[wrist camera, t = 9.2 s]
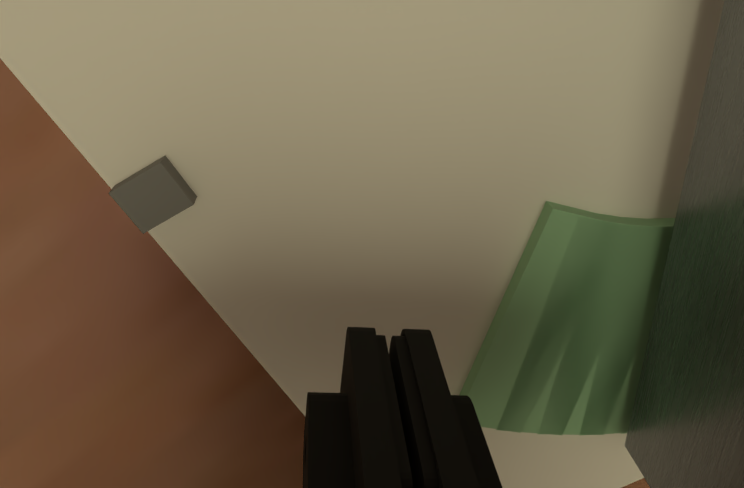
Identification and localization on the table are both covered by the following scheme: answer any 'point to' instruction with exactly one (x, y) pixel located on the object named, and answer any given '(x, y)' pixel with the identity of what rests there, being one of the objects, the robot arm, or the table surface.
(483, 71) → the dial board
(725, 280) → the grey rectangular bar
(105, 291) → the table surface
